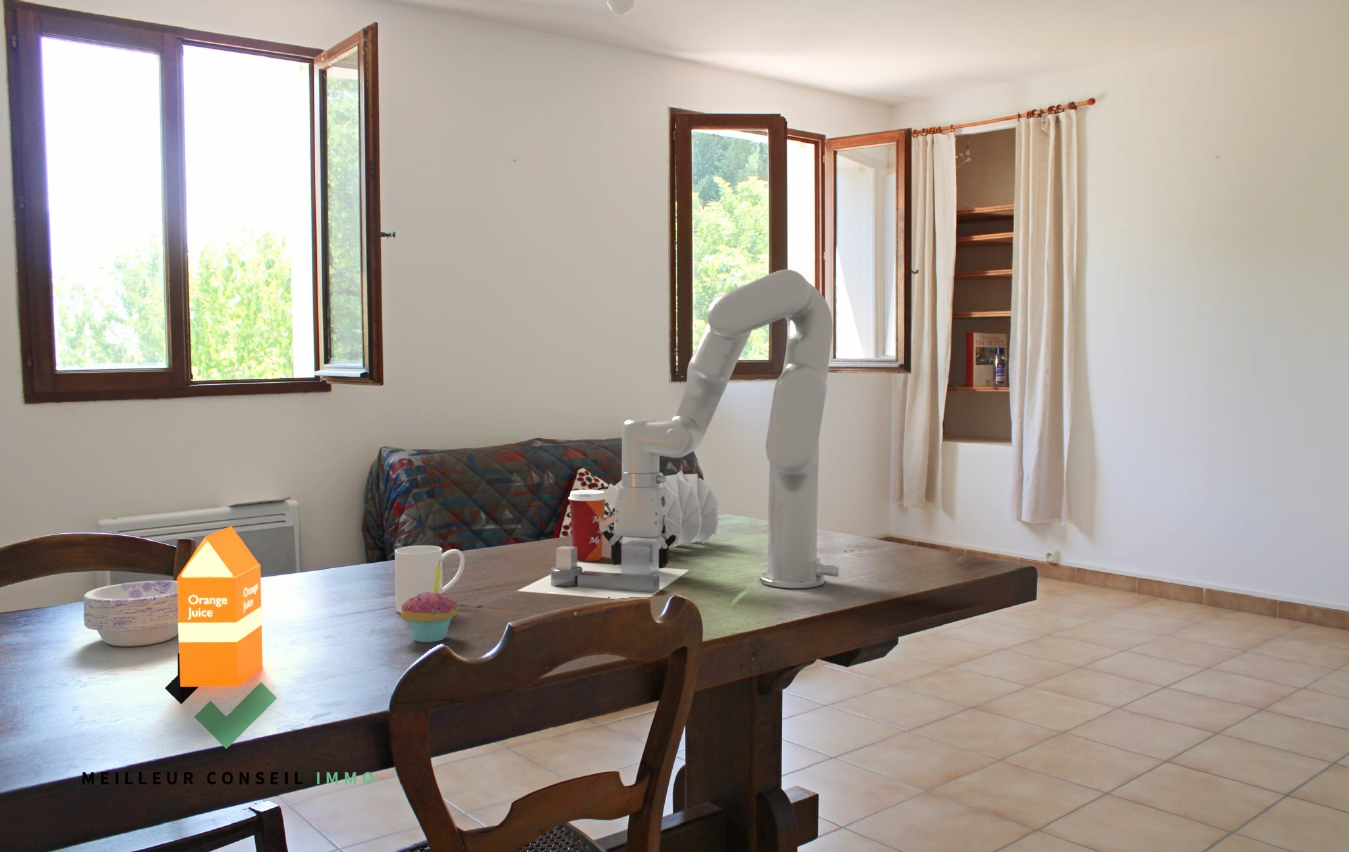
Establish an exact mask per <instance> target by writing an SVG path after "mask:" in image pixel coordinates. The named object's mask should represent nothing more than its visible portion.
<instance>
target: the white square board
mask: <svg viewBox="0 0 1349 852" xmlns="http://www.w3.org/2000/svg"><path fill="white" fill-rule="evenodd" d="M577 566H579V567H582V572H584V571H594V572H608V573H621V564H617V565H613V563H612V564H610V563H609V564H608V563H594V562H584V561H582V562H580V561H577ZM688 572H690V569H684V568H683V569H682V568H668V567H664V568H663V569H661V568H659V572H657V573H655V574H654V575H652V576H659V589H658V590H657V591H656V592H654V593H645V592H632V591H619V590H606V589H593V588H580V587H571V588H560V587H554V586H551V574H549V575H547V576H545V577H542V578H540V579H538V580H536V581H534V582H532V583H530V584H528V585H526V586H524V587H522V588H519V589H518V590H517V592H524V593H536V594H537V593H538V594H549V595H550V594H551V595H558V596H559V595H561V596H571V597H572V596H574V597H575V596H576V597H588V598H600V599H611V600H620V599H619V598H629V597H650V598H651V597H654V596H655V595H656V594H658V593H659V592H660V591H661V590H663V589H664V588H666V587H668V586H669V585H670V584H672V583H673V582H674V581H676V580H678V579H679V578H681V577H682V576H683V575H685V574H686V573H688ZM608 597H610V598H608Z"/></svg>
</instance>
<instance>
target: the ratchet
mask: <svg viewBox="0 0 1349 852" xmlns="http://www.w3.org/2000/svg"><path fill="white" fill-rule="evenodd" d="M577 562H578V560H577V547H573V546H572V545H571V546H570V545H567V546H566V545H561V546H559V547H556V548H555V566H552V567H550V575H551V586H554V587H560V588H571V587H580V588H593V589H606V590H619V591H632V592H645V593H654V592H656V591H657V590H658V589H659V576H650V575H636V574H622V573H608V572H594V571H584V572H582V567H579V566H577Z"/></svg>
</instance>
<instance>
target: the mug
mask: <svg viewBox="0 0 1349 852" xmlns="http://www.w3.org/2000/svg"><path fill="white" fill-rule="evenodd" d="M452 554H458V556H459V567H458V570H457V572H456V574H455V575H454V577H453V578H451V580H450V581H449V582H447V584H445V585H444V586H443V560H444V559H446V557H447V556H450V555H452ZM464 555H465V554H464V553H463V552H462V551H461V550H459V549H456V548H454V549H449V550H446V551H445V552H443V548H442V547H440V546H436V545H425V544H424V545H409V546H404V547H399V548H397V549H394V572H395V573H394V574H395V575H394V578H395V579H394V581H395V582H394V583H395V585H394V586H395V587H394V588H395V611H396V612H397V613H398V614H401V611H402V605H403V604H404V603H405V602H406V601H408V600H409V599H411V598H413V597H415V596H418V594H422V593H425V592H427V593H428V592H429V593H433V592H434V584H435V575H436V566H437V565H438V564H439V560H441V561H440V566H441V569H440V578H439V586H438V593H443V594H444V592H447V591H448V590H449V589H450V588H452V587H453V586H454V584H456V582H457V581H458V580H459V579H460V577H461V575H462V574H463V571H464V569H465V563H466V562H465V560H466V559H465V556H464Z"/></svg>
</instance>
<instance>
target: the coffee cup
mask: <svg viewBox="0 0 1349 852" xmlns="http://www.w3.org/2000/svg"><path fill="white" fill-rule="evenodd" d="M605 495H606V492H605V490H601V489H600V490H599V489H576V490H571V491H570V494H569V496H568V498H567V499H568V500H569V509H570V510H569V511H570V523H571V524H570V527H571V528H570V529H571V542H572V545H571V546H572V547H577V561H579V562H580V561H582V562H592V561H598V560H600V559H603V558H602V556H603V541H604V535H603V532H602V530H601V528H600V526H599V522H601V521H603V520H605V510H606V509H605V507H606V506H605V505H606V501H605V499H606V496H605Z"/></svg>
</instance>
